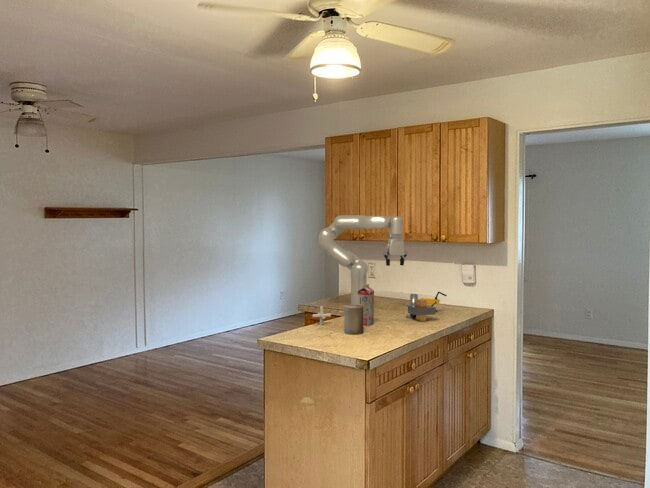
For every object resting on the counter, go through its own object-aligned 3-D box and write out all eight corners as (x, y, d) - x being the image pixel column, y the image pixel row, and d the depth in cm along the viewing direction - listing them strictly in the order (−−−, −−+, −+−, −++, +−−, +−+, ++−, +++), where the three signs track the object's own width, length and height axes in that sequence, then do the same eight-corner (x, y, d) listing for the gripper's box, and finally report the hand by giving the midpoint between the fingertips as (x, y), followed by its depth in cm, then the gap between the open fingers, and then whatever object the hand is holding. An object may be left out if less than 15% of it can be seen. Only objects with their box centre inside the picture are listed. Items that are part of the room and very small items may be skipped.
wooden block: (416, 320, 290) (416, 299, 289) (422, 319, 291) (422, 299, 291) (420, 321, 286) (420, 300, 285) (426, 320, 288) (426, 300, 287)
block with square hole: (417, 322, 282) (418, 297, 281) (400, 317, 298) (400, 293, 297) (435, 321, 286) (435, 296, 286) (417, 315, 303) (417, 292, 302)
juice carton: (373, 324, 276) (374, 284, 275) (368, 326, 270) (368, 285, 269) (362, 323, 279) (363, 283, 278) (357, 325, 274) (357, 284, 273)
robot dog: (445, 314, 309) (445, 292, 308) (417, 311, 318) (417, 290, 317) (447, 312, 314) (448, 291, 313) (419, 310, 323) (420, 289, 322)
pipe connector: (314, 326, 268) (315, 308, 267) (310, 323, 277) (310, 305, 277) (332, 326, 271) (333, 307, 270) (327, 322, 280) (328, 304, 280)
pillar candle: (367, 332, 255) (367, 303, 254) (354, 335, 248) (354, 305, 248) (353, 329, 262) (353, 301, 261) (340, 332, 255) (340, 303, 255)
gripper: (386, 237, 295) (385, 266, 296) (411, 237, 302) (410, 265, 303) (380, 236, 302) (379, 265, 303) (404, 236, 309) (403, 264, 310)
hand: (394, 265), depth 303 cm, fingers open, 9 cm apart
